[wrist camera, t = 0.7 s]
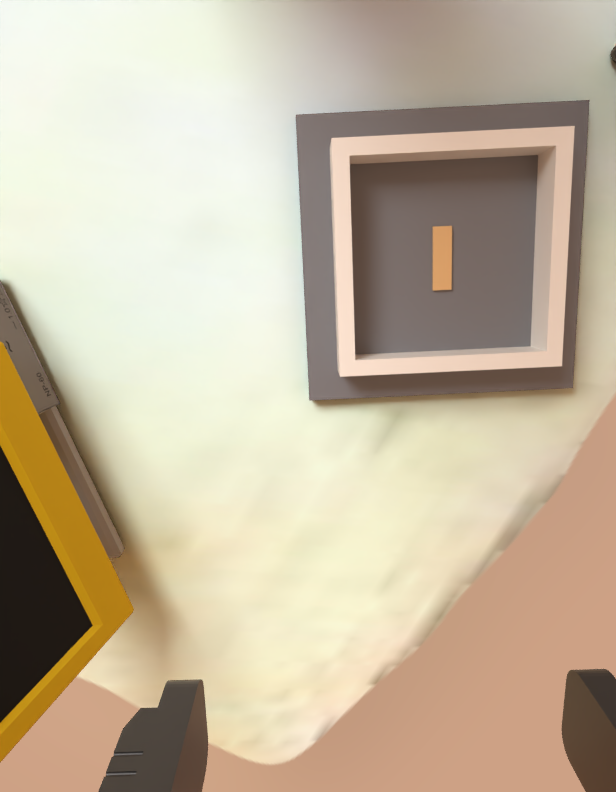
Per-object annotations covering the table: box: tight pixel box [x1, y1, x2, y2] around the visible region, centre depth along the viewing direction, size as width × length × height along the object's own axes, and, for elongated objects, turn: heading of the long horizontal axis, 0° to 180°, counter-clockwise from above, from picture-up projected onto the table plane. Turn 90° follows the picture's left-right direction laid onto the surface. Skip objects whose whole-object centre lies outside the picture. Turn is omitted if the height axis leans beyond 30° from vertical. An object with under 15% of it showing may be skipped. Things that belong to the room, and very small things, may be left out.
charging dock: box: [296, 100, 589, 400], centre depth 34 cm, size 18×18×4 cm
